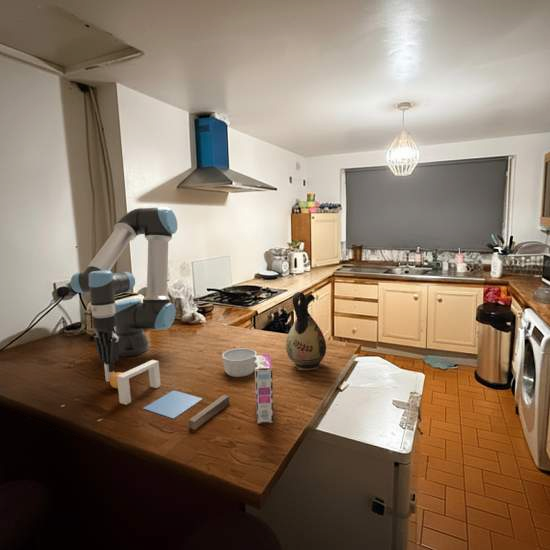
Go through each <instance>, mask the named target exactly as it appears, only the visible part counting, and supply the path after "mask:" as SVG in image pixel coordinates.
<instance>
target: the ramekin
mask: <svg viewBox="0 0 550 550" xmlns="http://www.w3.org/2000/svg"><path fill="white" fill-rule="evenodd" d="M255 355H258V352H257V351H256V350H254V349H251V348H246V347H244V348H243V347H242V348H241V347H237V348H233V349H227V350H226V351H224V352H223V353H222V354H221V356H222V357H221V359H222V362H223V368H224V371H225V374H227V375H228V376H230V377H236V378H239V377H240V378H241V377H246V376H249V375H251V374H253V373H254V372H255Z"/></svg>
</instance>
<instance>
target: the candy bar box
mask: <svg viewBox="0 0 550 550" xmlns="http://www.w3.org/2000/svg"><path fill="white" fill-rule="evenodd" d="M273 378H274V377H273V366H272V361H271V355H270V354H257V355H255V370H254V380H255V381H254V386H255V387H254V389H255V390H254V391H255V413H256V423H257V424H258V425H261V424H272V423H273V424H274V392H273V391H274V386H273V384H274V383H273Z"/></svg>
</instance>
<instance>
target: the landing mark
mask: <svg viewBox="0 0 550 550" xmlns="http://www.w3.org/2000/svg"><path fill="white" fill-rule="evenodd" d="M203 399H204V398H202V397H198V396H195V395H192V394H188V393H185V392H182V391H178V390H174V389H173V390H172V391H170V392H168V393H166V394H164V395H163V396H162V397H159V398H158V399H156V400H154V401H152V402H151V403H150V404H148V405H145V406H144V407H143V408H142V409H143V410H145V411H148V412H151V413H155V414H157V415H161V416H164V417H167V418H168V419H169V418H170V419H173V420H174V419H176V418H177V417H179V416H180V415H182V414H183V413H185V412H186V411H188V410H189V409H191V408H192V407H194V406H195V405H196V404H198V403H200V402H201V401H203Z"/></svg>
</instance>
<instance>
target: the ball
mask: <svg viewBox="0 0 550 550" xmlns="http://www.w3.org/2000/svg"><path fill="white" fill-rule="evenodd" d="M122 373H123V372H119V371H118V372H115V374H113V375H112V377H111V379H110V381H109V383H110V385H111V387H112V388H114V389H117V390H118V382H117V376H118V375H120V374H122Z"/></svg>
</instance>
